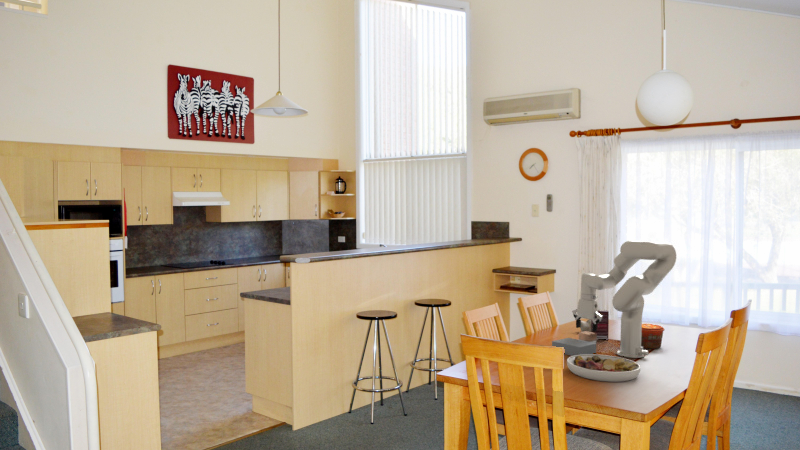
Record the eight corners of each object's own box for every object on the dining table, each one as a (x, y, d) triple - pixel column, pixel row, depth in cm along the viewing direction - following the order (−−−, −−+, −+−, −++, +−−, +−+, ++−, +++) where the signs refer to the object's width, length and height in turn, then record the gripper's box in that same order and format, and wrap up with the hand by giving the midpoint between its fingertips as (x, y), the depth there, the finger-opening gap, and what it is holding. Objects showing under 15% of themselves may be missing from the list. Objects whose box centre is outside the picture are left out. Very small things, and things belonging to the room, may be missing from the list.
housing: (596, 346, 302) (596, 333, 302) (589, 348, 298) (589, 334, 298) (585, 344, 308) (585, 331, 307) (578, 345, 303) (578, 332, 303)
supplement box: (606, 338, 323) (606, 309, 323) (608, 340, 318) (609, 311, 318) (590, 337, 324) (591, 309, 323) (592, 339, 319) (593, 310, 319)
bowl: (582, 361, 272) (582, 344, 272) (649, 373, 253) (649, 355, 253) (555, 374, 249) (555, 356, 248) (626, 389, 230) (627, 369, 229)
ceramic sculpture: (579, 315, 344) (606, 318, 339) (578, 329, 344) (604, 333, 340) (579, 318, 334) (606, 322, 329) (577, 333, 334) (605, 337, 330)
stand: (596, 353, 287) (596, 343, 287) (579, 357, 278) (579, 347, 278) (568, 347, 299) (568, 337, 299) (551, 351, 290) (552, 341, 290)
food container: (624, 344, 308) (624, 324, 308) (645, 341, 315) (645, 322, 315) (649, 351, 294) (650, 330, 294) (670, 348, 301) (671, 327, 301)
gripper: (607, 299, 298) (605, 331, 299) (577, 293, 312) (576, 325, 312) (598, 300, 294) (597, 333, 294) (569, 295, 307) (567, 326, 308)
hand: (586, 329), depth 303 cm, fingers open, 9 cm apart
